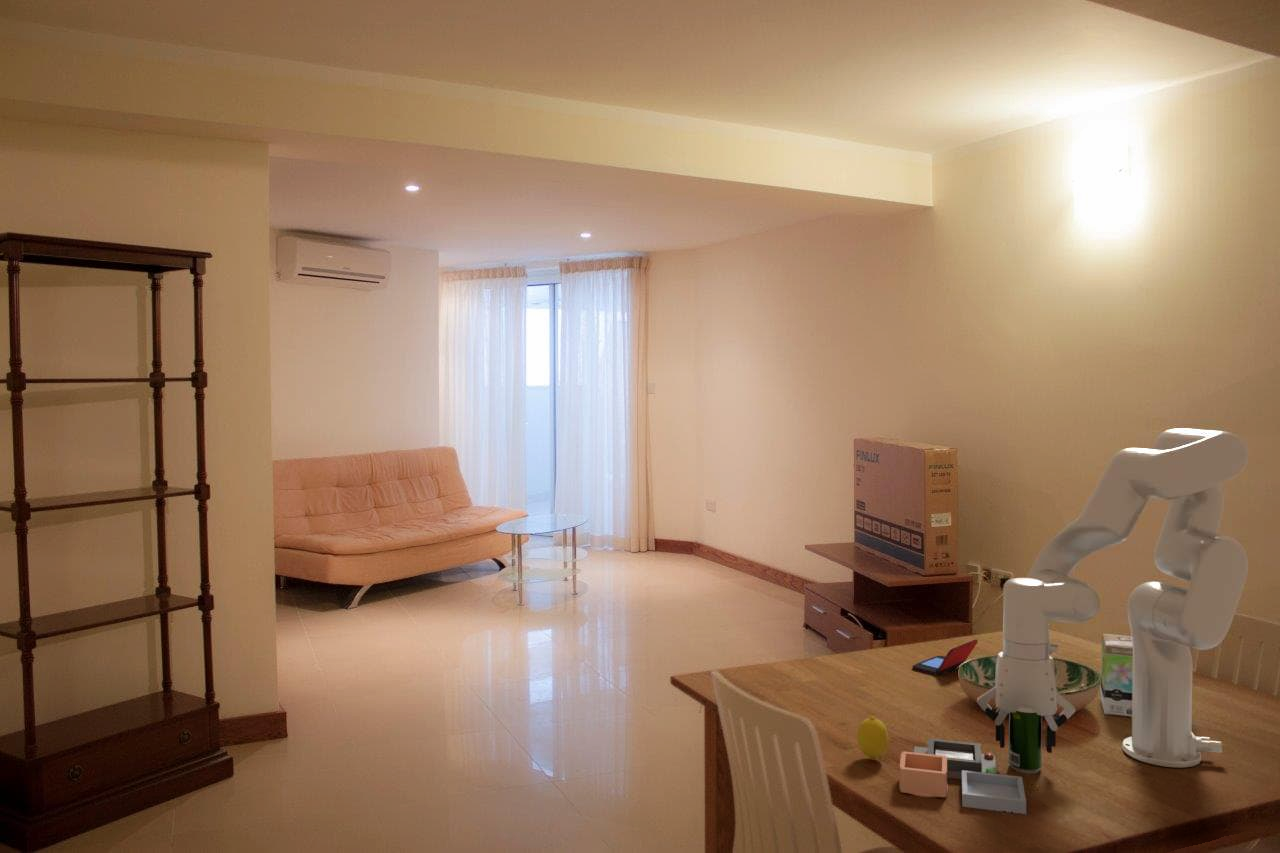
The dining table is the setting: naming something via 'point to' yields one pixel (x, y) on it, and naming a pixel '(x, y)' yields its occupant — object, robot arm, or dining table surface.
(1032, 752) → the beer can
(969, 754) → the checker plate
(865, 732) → the lemon
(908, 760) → the peach open box
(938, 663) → the handheld game console
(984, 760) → the button control box
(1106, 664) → the tea box
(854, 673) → the dining table surface
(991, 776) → the light blue-grey square tray
